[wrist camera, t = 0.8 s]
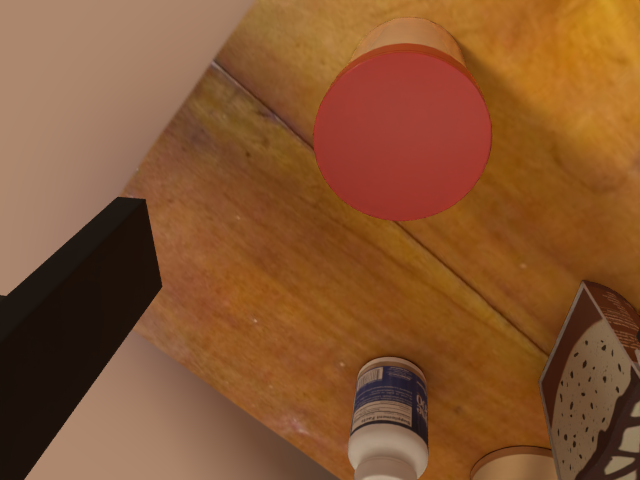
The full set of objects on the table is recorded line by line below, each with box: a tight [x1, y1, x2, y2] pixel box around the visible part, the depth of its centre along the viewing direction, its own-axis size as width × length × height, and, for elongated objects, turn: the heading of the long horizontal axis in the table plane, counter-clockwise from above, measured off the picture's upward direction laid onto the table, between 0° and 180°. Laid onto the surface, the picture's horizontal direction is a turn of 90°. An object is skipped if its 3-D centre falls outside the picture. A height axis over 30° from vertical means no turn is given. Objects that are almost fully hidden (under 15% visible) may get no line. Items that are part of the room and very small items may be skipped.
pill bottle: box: [348, 357, 429, 480], centre depth 36 cm, size 5×5×10 cm
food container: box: [538, 280, 640, 480], centre depth 31 cm, size 12×6×10 cm, turn 175°
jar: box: [348, 17, 467, 69], centre depth 24 cm, size 6×6×10 cm
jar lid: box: [313, 43, 492, 221], centre depth 21 cm, size 7×7×2 cm
